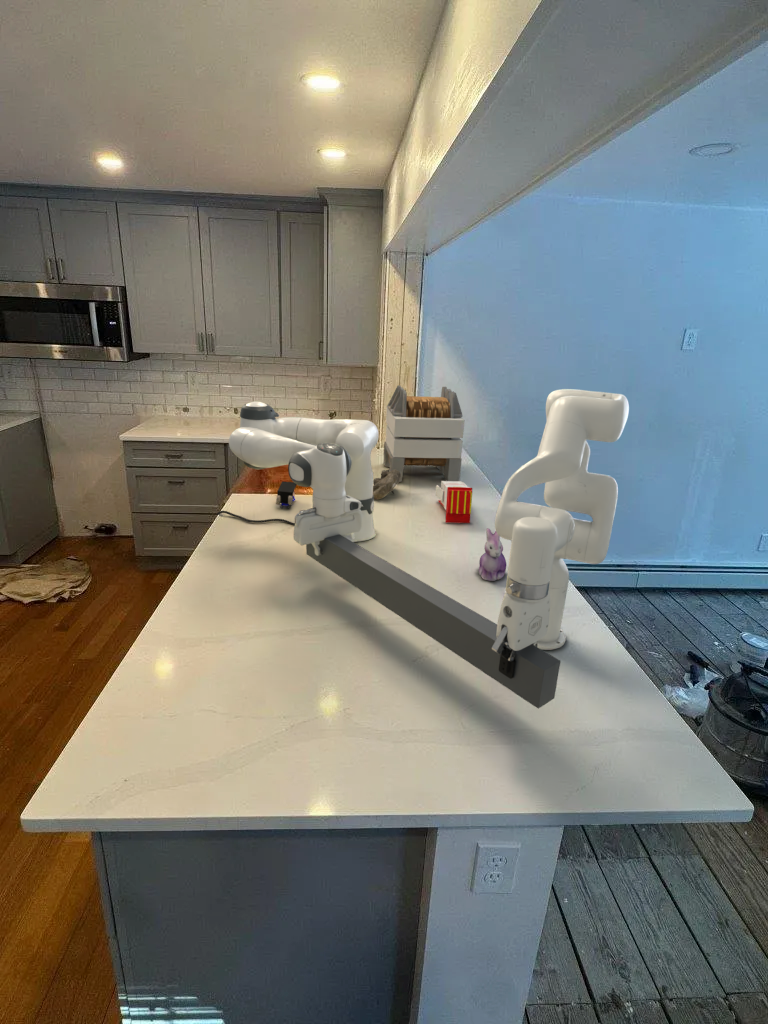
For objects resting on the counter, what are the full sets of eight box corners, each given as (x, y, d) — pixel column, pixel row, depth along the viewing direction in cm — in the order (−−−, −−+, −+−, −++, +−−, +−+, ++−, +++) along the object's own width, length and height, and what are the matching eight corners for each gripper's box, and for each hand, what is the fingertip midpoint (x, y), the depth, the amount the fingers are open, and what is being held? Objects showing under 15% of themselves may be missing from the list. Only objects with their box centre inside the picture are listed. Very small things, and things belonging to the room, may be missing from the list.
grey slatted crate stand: (382, 463, 289) (386, 382, 275) (445, 464, 293) (451, 384, 279) (390, 482, 257) (394, 392, 243) (460, 483, 261) (468, 394, 247)
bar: (306, 554, 161) (305, 527, 158) (320, 550, 164) (320, 523, 161) (538, 708, 103) (544, 670, 100) (554, 698, 106) (560, 660, 103)
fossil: (369, 475, 252) (396, 457, 247) (382, 491, 255) (409, 474, 250) (363, 495, 232) (392, 476, 227) (377, 513, 235) (406, 494, 230)
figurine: (489, 584, 165) (495, 537, 160) (469, 570, 174) (474, 524, 169) (515, 579, 169) (521, 532, 164) (493, 565, 178) (499, 520, 173)
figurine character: (293, 513, 218) (297, 497, 231) (292, 495, 215) (297, 480, 228) (275, 513, 218) (281, 496, 231) (274, 495, 214) (280, 479, 228)
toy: (463, 477, 237) (476, 489, 207) (461, 508, 239) (474, 524, 210) (434, 476, 236) (443, 488, 207) (432, 507, 239) (441, 523, 210)
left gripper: (301, 515, 143) (301, 565, 148) (366, 501, 155) (364, 547, 160) (288, 508, 147) (289, 556, 152) (353, 495, 159) (351, 540, 164)
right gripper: (513, 608, 95) (501, 697, 101) (572, 580, 105) (558, 663, 111) (479, 590, 100) (470, 675, 106) (539, 565, 110) (527, 645, 117)
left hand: (328, 551), depth 156 cm, fingers closed on bar, 5 cm apart
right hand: (515, 668), depth 109 cm, fingers closed on bar, 4 cm apart
